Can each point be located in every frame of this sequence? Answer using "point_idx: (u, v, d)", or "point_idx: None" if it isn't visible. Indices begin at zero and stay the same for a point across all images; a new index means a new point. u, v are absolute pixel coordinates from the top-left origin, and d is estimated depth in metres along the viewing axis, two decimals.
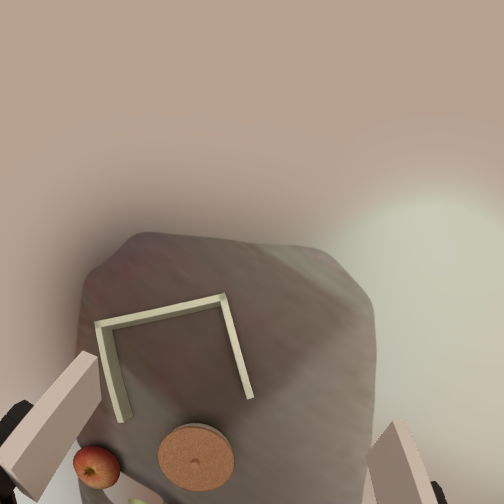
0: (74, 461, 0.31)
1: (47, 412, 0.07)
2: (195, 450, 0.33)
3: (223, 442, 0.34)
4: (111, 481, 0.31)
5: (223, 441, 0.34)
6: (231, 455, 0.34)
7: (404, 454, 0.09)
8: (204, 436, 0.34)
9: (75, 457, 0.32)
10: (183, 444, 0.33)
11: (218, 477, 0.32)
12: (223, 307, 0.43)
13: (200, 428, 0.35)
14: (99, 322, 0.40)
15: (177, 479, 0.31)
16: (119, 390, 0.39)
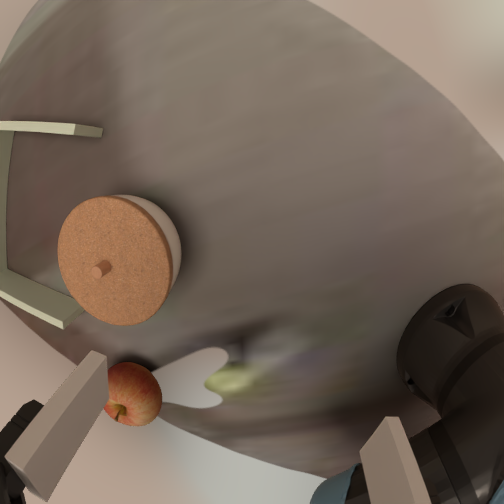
0: None
1: (58, 411, 0.07)
2: (87, 253, 0.21)
3: (90, 202, 0.20)
4: (141, 395, 0.28)
5: (88, 201, 0.20)
6: (115, 202, 0.20)
7: (397, 450, 0.09)
8: (72, 227, 0.21)
9: None
10: (76, 265, 0.21)
11: (146, 248, 0.21)
12: None
13: None
14: None
15: (130, 313, 0.22)
16: (41, 300, 0.28)
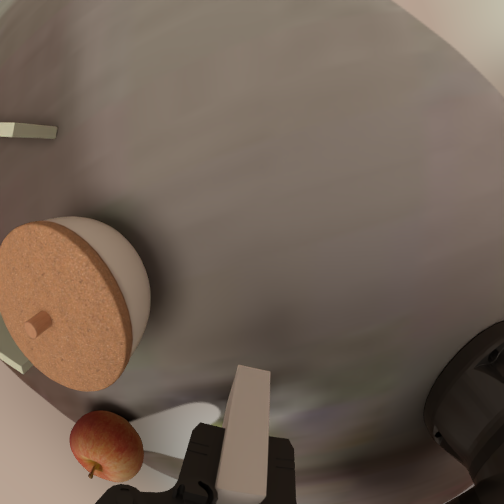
0: None
1: (244, 427, 0.09)
2: (23, 299, 0.13)
3: (19, 231, 0.12)
4: (116, 454, 0.20)
5: (18, 229, 0.12)
6: (46, 232, 0.12)
7: None
8: (4, 262, 0.13)
9: None
10: (14, 312, 0.14)
11: (89, 300, 0.13)
12: None
13: None
14: None
15: (83, 379, 0.14)
16: (2, 335, 0.21)
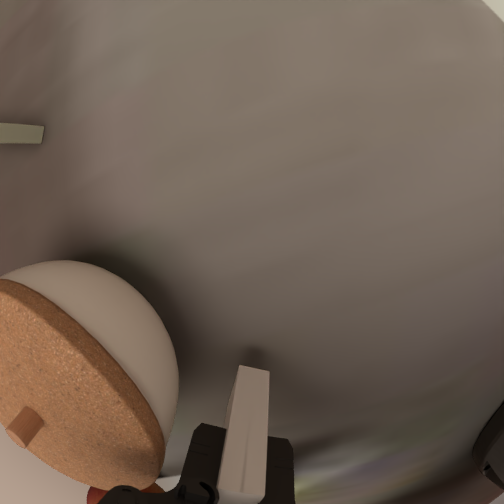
0: None
1: (245, 428, 0.09)
2: None
3: None
4: None
5: None
6: (10, 306, 0.07)
7: None
8: None
9: None
10: None
11: (95, 414, 0.07)
12: None
13: None
14: None
15: (98, 482, 0.09)
16: None
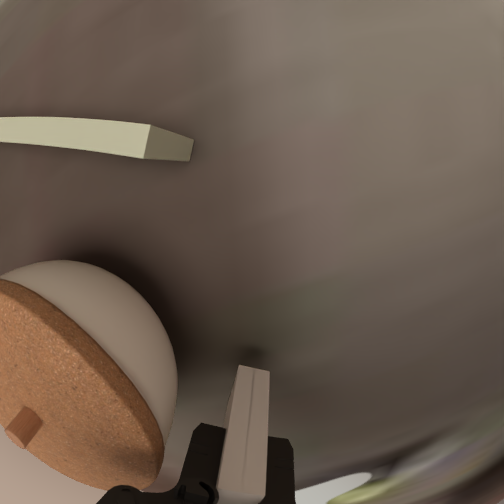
0: None
1: (245, 428, 0.09)
2: None
3: None
4: None
5: None
6: (7, 305, 0.06)
7: None
8: None
9: None
10: None
11: (93, 413, 0.07)
12: None
13: None
14: None
15: (98, 482, 0.09)
16: None
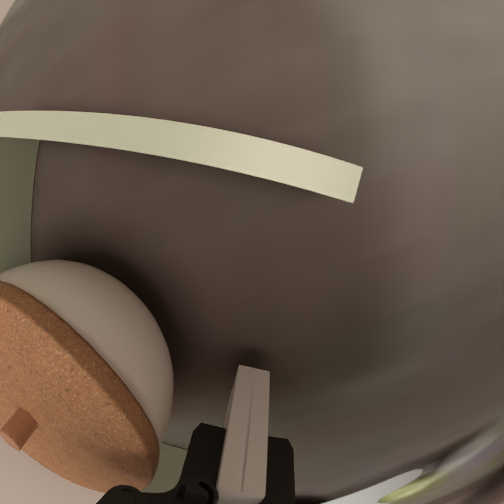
0: None
1: (244, 428, 0.09)
2: None
3: None
4: None
5: None
6: None
7: None
8: None
9: None
10: None
11: (86, 416, 0.07)
12: None
13: None
14: None
15: (94, 484, 0.08)
16: None
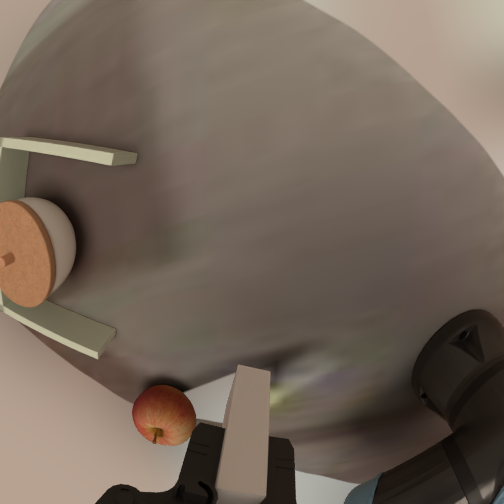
0: None
1: (244, 428, 0.09)
2: (0, 247, 0.21)
3: None
4: (179, 419, 0.29)
5: None
6: (12, 205, 0.20)
7: None
8: None
9: None
10: None
11: (32, 242, 0.21)
12: (7, 145, 0.21)
13: None
14: None
15: (30, 297, 0.22)
16: (70, 327, 0.29)
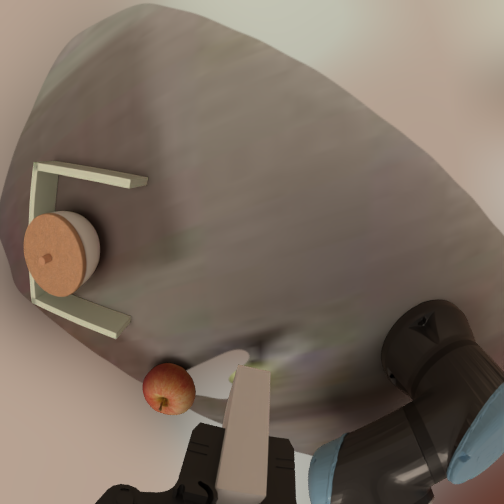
0: None
1: (244, 427, 0.09)
2: (39, 249, 0.30)
3: (38, 217, 0.29)
4: (181, 389, 0.37)
5: (38, 217, 0.29)
6: (51, 217, 0.29)
7: None
8: (30, 233, 0.30)
9: None
10: (34, 257, 0.31)
11: (68, 245, 0.30)
12: (42, 169, 0.30)
13: (26, 232, 0.30)
14: (32, 298, 0.36)
15: (64, 288, 0.31)
16: (93, 315, 0.38)
